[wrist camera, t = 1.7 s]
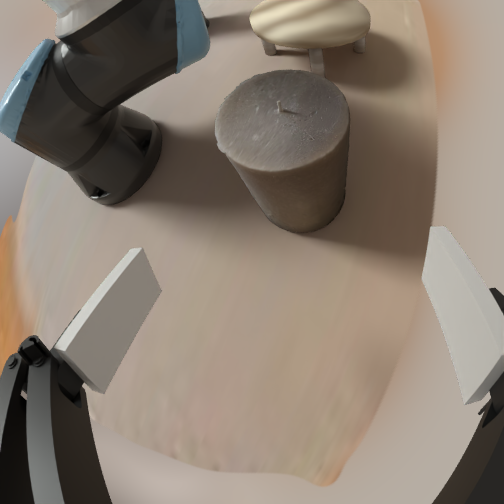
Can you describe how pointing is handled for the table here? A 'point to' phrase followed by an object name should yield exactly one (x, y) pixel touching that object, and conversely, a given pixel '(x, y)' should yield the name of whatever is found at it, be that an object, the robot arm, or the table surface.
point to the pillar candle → (288, 145)
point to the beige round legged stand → (311, 26)
